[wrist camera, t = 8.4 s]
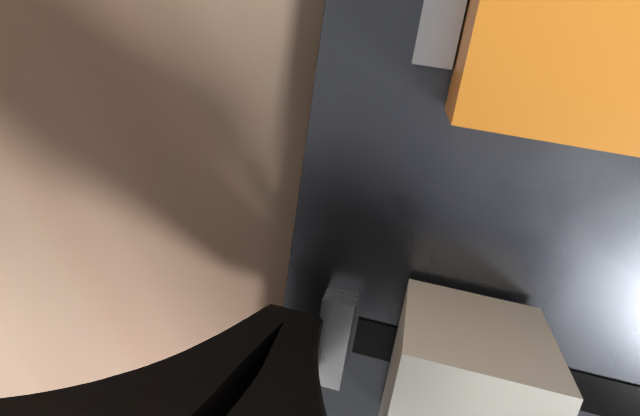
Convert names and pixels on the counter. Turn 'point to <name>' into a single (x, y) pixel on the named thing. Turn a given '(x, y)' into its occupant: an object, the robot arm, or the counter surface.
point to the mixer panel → (451, 213)
